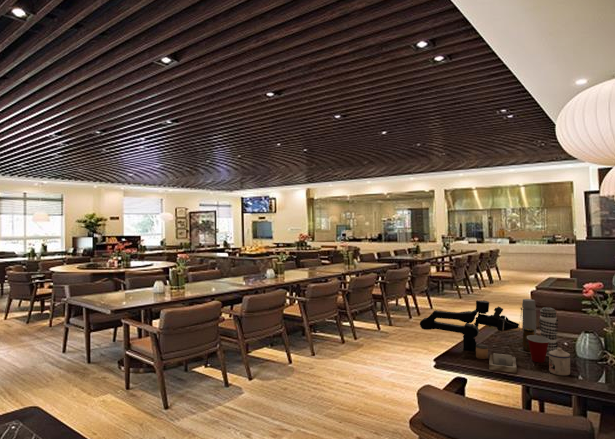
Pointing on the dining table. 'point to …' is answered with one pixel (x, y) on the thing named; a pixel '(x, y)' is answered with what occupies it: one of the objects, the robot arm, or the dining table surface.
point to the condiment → (526, 340)
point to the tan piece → (503, 368)
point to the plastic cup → (538, 347)
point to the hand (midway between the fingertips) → (518, 325)
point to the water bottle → (528, 315)
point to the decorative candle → (549, 327)
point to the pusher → (502, 359)
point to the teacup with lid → (559, 362)
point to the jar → (481, 351)
